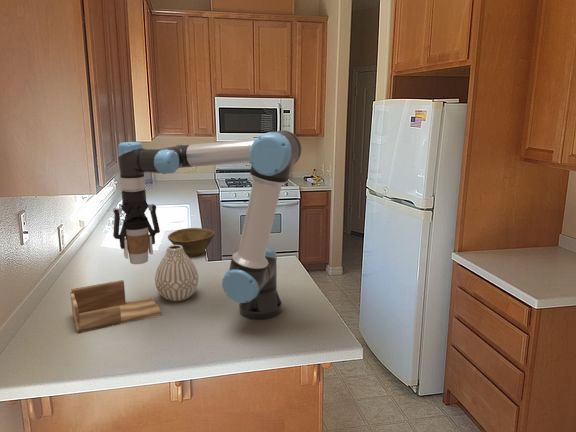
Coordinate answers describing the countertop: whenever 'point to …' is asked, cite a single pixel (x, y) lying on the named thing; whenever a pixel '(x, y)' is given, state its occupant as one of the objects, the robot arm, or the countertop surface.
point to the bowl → (192, 240)
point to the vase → (176, 275)
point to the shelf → (107, 306)
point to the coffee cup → (137, 240)
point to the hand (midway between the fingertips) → (138, 255)
